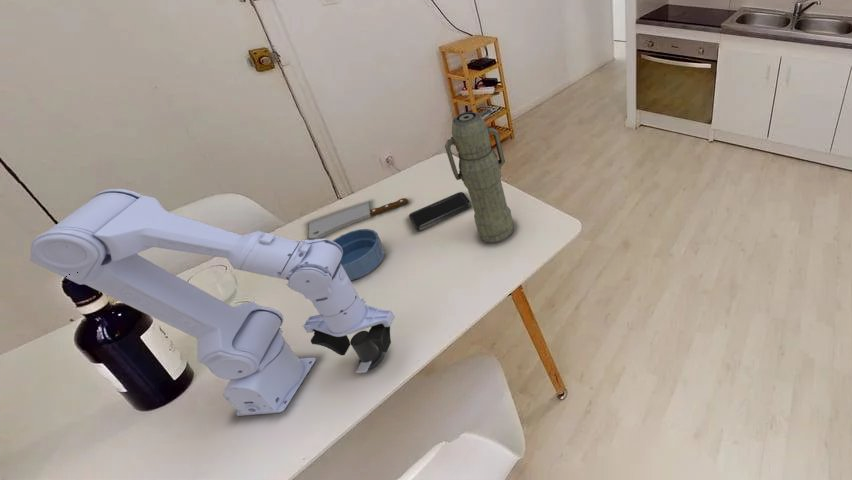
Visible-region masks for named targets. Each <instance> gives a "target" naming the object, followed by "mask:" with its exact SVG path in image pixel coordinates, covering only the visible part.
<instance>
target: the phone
mask: <svg viewBox="0 0 852 480" xmlns="http://www.w3.org/2000/svg"><path fill="white" fill-rule="evenodd" d="M471 207H472V202H471V200H469V199H468V197H467V195H465V193H464V192H463V191H459V192H457V193H454V194H451V195H449V196H447V197H445V198H442V199H440V200H437V201H435V202H433V203H431V204H429V205H426V206H424V207H422V208H419V209H417V210H415V211H412V212H411V213H409V215H408V217H409V220H410V222H411V224H412V226H413V228H414V231H416V232H421V231H423V230H425V229H428V228H430V227H432V226H435V225H436V224H439V223H441V222H443V221H445V220H447V219H449V218H451V217H452V218H453V217H454V216H456V215H459V214H460V213H462V212H464V211H468V210H469V209H470V208H471Z"/></svg>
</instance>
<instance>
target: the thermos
mask: <svg viewBox="0 0 852 480" xmlns="http://www.w3.org/2000/svg"><path fill="white" fill-rule="evenodd" d="M491 134H492V135H493V139H494V143H495V147H496V152H497V154H496V152H495V151H494V149H493V145H491V144H492V141H491V137H490V136H491ZM451 135H452V136H450V138H448V139H447V140H446V141H445V145H444V149H445V152H446V156H447V158H448V161H449V164H450V168H451V170H452V173H453V176H454V178H455V179H456V181H459V180H461V182H463V185H464V186H465V188H466V189H467V192H468V195H469V198H470V203H471V206H472V208H473V212H474V214H473V218H474V223H475V226H476V230H477V232H478V233H479V237H480V239H481V241H482V242H483V243H485V244H491V245H493V244H495V245H496V244H499V243H502V242H504V241H506V240H508V239H509V238H510V237H511V236H512V235H513V234H514V230H515V226H514V223H513V222H514V220H513V216H512V211H511V209H510V208H509V206H508V204H507V199H506V196H505V191H504V187H503V184H502V172H501V171H502V170H501V168H502V167H503V166H504V164H505V163H506V159H505V155H504V150H503V146H502V142H501V138H500V133H499V131H498V130H496V129H495V128H494V127H488V125H487V124H486V121H485V119H484V118H483V116H482V115H481V114H480V113H479V112H477V111H476V112H474V111H466V112H462V113H459V114H458V115H456V116H455V117H453V119H452V122H451ZM452 146H454V147H455V149H456V152H457V153H458V159H459V160H458V169H459V170H458V169H457V166H456V163H455V159H454V155H453V152H452V150H451V147H452Z"/></svg>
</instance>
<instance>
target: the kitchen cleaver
mask: <svg viewBox="0 0 852 480" xmlns="http://www.w3.org/2000/svg"><path fill="white" fill-rule="evenodd" d="M408 203H409V200H408V198H406V197H403V198H400V199H398V200H396V201H394V202H390V203H386V204H384V205H382V206H378V207H374V208H371V207H370V201H365V202H363V203H360V204H357V205H353V206H351V207H347V208H344V209H342V210H340V211H336V212H333V213H331V214H328V215H325V216H322V217H320V218H317V219H314V220H312V221H310V222H308V240H315V239H323V238H324V237H326V236H327V235H330V234H331V233H334V232H336V231H338V230H340V229H343V228H345V227H347V226H350V225H353V224H355V223H358V222H361V221H363V220H366V219H369V218H371V217H372V218H373V216H376V215H379V214H382V213H385V212H388V211H390V210H394V209H396V208H399V207H402V206H405V205H407V204H408Z"/></svg>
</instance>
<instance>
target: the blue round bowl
mask: <svg viewBox="0 0 852 480" xmlns="http://www.w3.org/2000/svg"><path fill="white" fill-rule="evenodd" d="M332 241H333V242H335V243H337V244H338V245H340V246H341V248H342V250H343V255H342V258H341V261H340V264H341V265H342V267H343V268H344V270H345V272H346V274H347V275H348V277H349V279H350V281H354V280H357V279H360V278H361V277H364V276H366V275H368V274H369V273H370V272H372V271H373V270H375V269H376V268H377V267H378V266H379V265H380V264H381V263H382V261H383V259H384V258H385V254H386V249H385V247H384V244H383V242H382V240H381V238H380V236H379V233H378V232H377V231H375V230H374V229H370V228H361V229H360V228H359V229H355V230H351V231H348V232H346V233H344V234H341V235H340V236H338V237H336V238H334V239H333V240H332Z"/></svg>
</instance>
